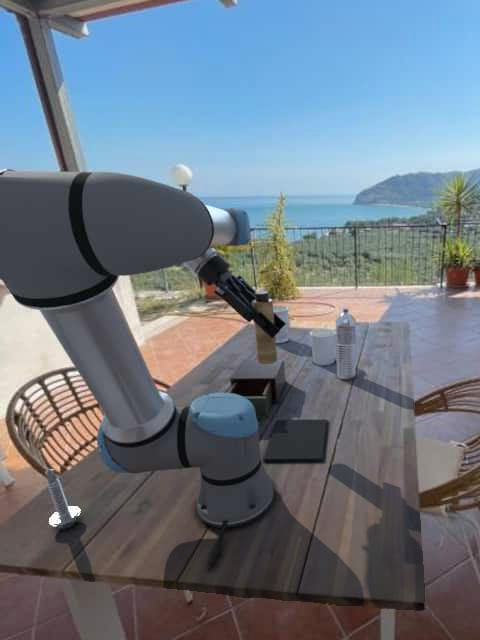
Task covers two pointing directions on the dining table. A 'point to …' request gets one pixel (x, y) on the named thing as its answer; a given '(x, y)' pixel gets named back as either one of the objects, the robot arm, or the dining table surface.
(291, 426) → the placemat
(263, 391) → the drawer
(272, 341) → the pepper mill
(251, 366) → the cabinet
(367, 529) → the dining table surface
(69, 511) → the screw
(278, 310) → the jar
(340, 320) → the water bottle
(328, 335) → the candle holder
